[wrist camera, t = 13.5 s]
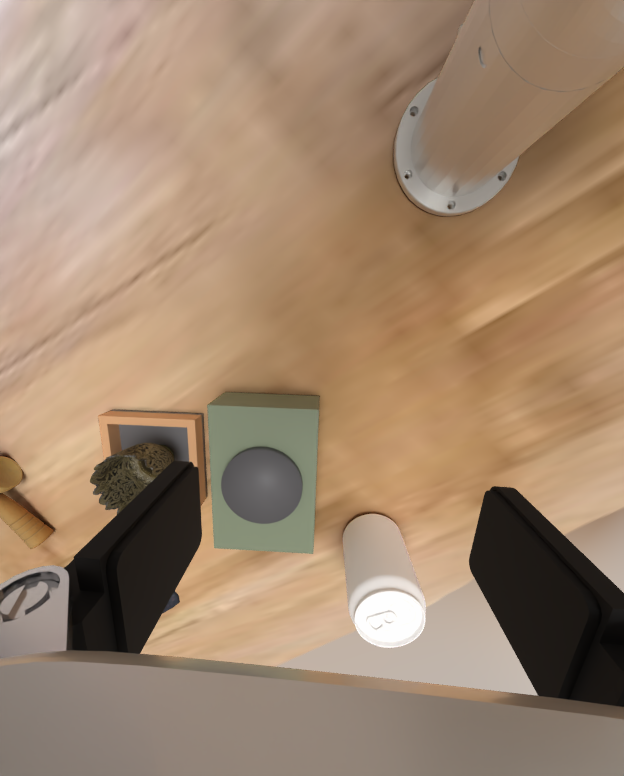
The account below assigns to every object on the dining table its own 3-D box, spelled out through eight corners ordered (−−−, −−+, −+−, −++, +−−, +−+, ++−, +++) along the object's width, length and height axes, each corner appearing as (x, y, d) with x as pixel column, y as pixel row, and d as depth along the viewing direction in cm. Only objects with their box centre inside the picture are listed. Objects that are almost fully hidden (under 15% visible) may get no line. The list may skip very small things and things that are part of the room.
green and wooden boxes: (110, 387, 38) (63, 401, 31) (319, 395, 37) (318, 412, 30) (125, 510, 42) (86, 547, 35) (314, 520, 41) (312, 560, 34)
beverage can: (409, 546, 42) (443, 635, 30) (358, 568, 43) (371, 661, 31) (384, 501, 40) (409, 575, 29) (332, 525, 41) (335, 605, 30)
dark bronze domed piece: (162, 490, 40) (123, 530, 33) (124, 449, 39) (75, 481, 31) (202, 460, 39) (172, 495, 31) (165, 418, 38) (124, 442, 30)
